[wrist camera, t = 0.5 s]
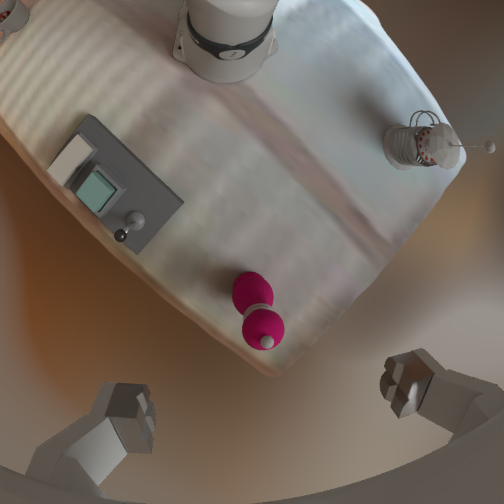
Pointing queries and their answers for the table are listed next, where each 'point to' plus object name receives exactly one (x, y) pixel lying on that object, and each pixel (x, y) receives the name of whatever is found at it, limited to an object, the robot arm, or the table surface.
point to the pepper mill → (257, 311)
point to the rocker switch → (69, 160)
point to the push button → (95, 191)
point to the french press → (424, 145)
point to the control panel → (123, 185)
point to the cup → (12, 17)
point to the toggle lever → (124, 232)
